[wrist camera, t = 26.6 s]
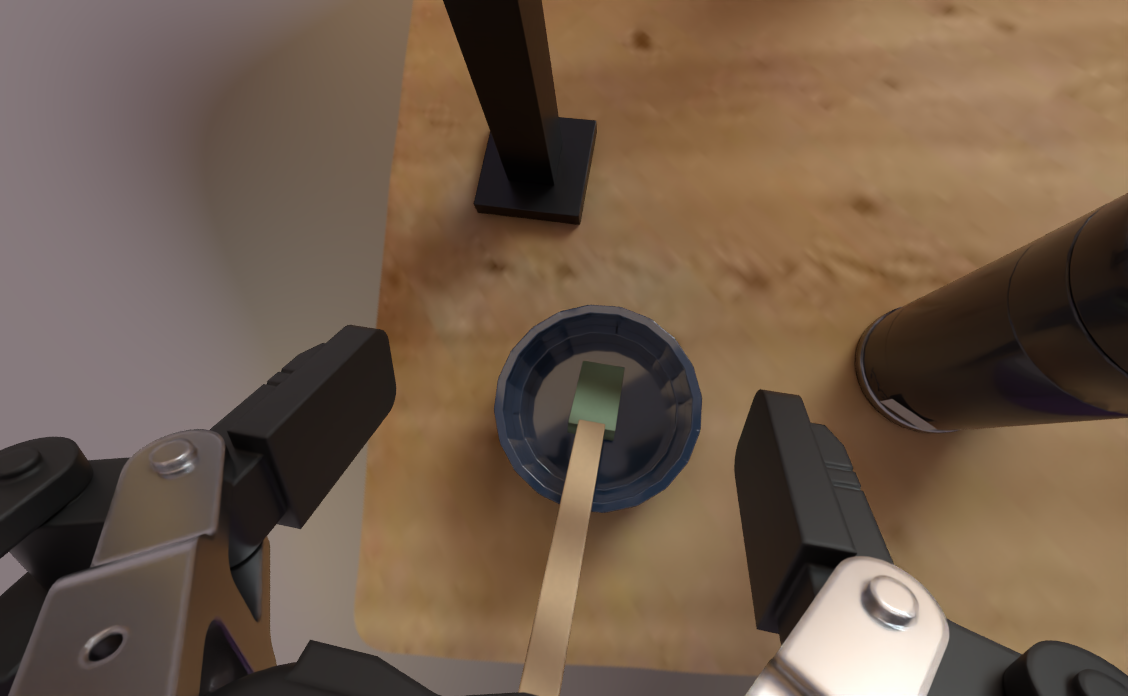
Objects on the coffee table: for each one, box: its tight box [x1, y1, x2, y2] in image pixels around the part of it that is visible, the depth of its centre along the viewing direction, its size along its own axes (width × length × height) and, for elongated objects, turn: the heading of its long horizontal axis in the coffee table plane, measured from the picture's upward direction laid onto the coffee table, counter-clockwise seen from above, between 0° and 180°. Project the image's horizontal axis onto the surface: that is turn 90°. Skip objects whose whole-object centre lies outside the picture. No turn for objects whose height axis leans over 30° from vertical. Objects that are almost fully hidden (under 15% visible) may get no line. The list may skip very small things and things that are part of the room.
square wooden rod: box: [518, 361, 625, 696], centre depth 29 cm, size 22×3×2 cm
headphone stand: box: [443, 0, 597, 224], centre depth 27 cm, size 14×9×31 cm, turn 170°
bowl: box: [494, 305, 702, 513], centre depth 34 cm, size 13×13×6 cm
